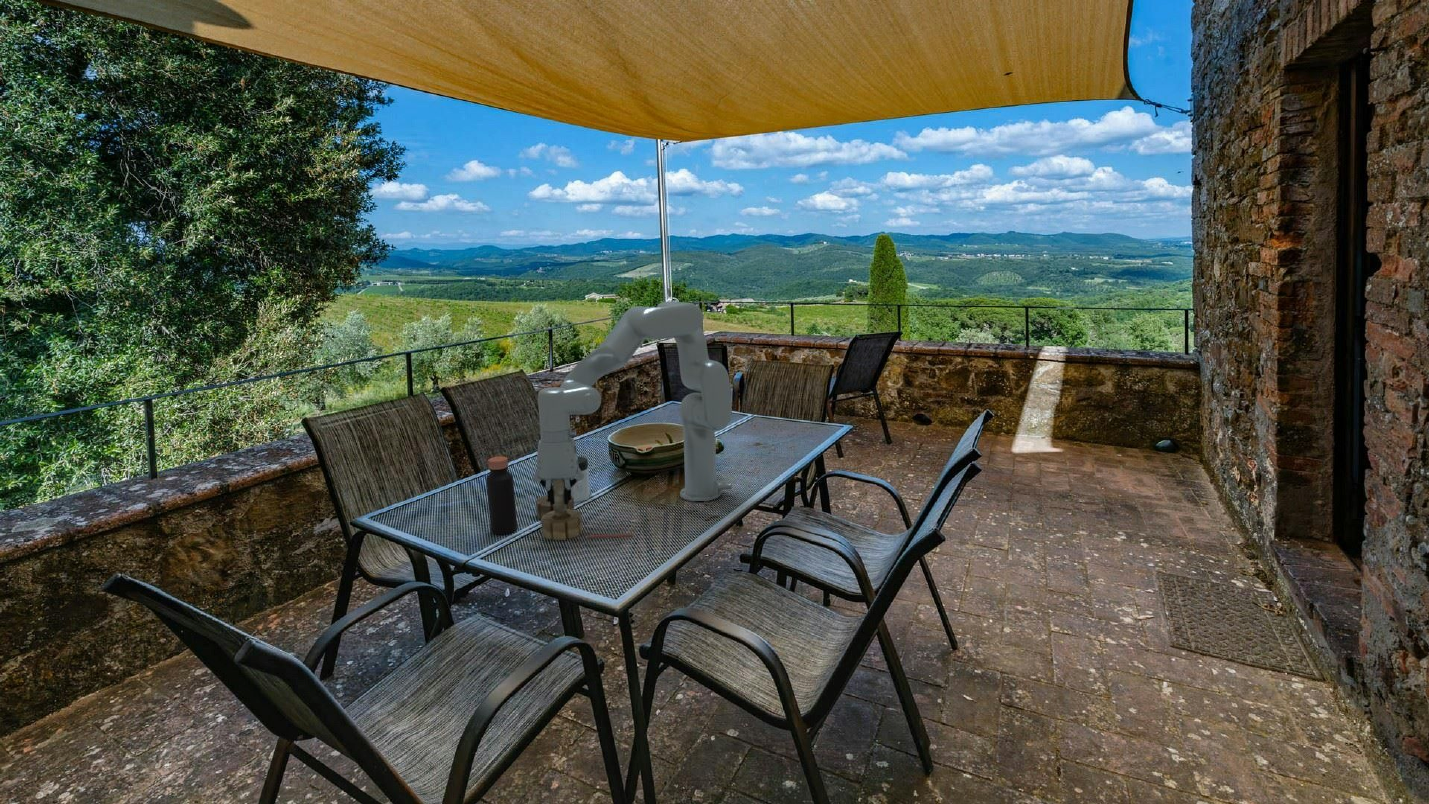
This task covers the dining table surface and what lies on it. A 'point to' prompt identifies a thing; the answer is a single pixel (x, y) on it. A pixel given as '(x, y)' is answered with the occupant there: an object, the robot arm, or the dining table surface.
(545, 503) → the bead
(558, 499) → the dowel
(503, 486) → the bottle
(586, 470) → the jar
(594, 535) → the reddish brown square stick
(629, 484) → the dining table surface
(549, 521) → the bead
